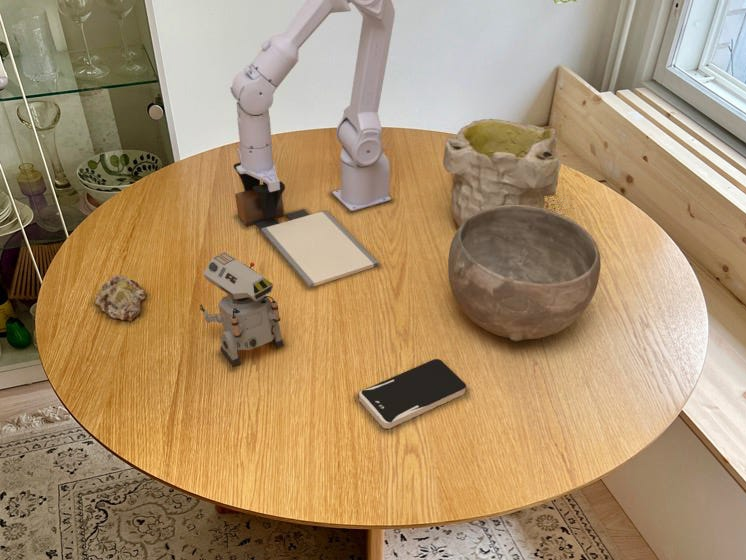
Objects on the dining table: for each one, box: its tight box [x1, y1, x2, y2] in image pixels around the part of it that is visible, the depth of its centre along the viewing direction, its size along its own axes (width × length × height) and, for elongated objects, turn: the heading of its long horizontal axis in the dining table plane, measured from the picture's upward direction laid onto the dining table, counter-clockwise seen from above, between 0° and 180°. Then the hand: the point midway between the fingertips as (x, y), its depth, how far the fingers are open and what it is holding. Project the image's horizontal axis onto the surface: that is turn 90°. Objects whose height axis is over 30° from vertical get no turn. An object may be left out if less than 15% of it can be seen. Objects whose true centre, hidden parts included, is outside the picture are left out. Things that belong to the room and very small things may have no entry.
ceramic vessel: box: [442, 118, 562, 228], centre depth 141 cm, size 23×24×25 cm
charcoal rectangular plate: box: [285, 209, 310, 221], centre depth 147 cm, size 4×3×1 cm
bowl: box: [447, 205, 602, 342], centre depth 122 cm, size 24×24×15 cm
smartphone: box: [358, 358, 467, 430], centre depth 112 cm, size 8×1×15 cm
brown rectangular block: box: [234, 189, 285, 226], centre depth 145 cm, size 8×4×5 cm, turn 121°
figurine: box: [199, 251, 284, 367], centre depth 115 cm, size 9×12×15 cm
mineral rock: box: [94, 274, 147, 322], centre depth 125 cm, size 11×4×8 cm
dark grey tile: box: [254, 218, 280, 231], centre depth 145 cm, size 4×3×1 cm
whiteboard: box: [260, 209, 379, 289], centre depth 139 cm, size 14×20×1 cm
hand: (261, 207), depth 146 cm, fingers open, 7 cm apart
